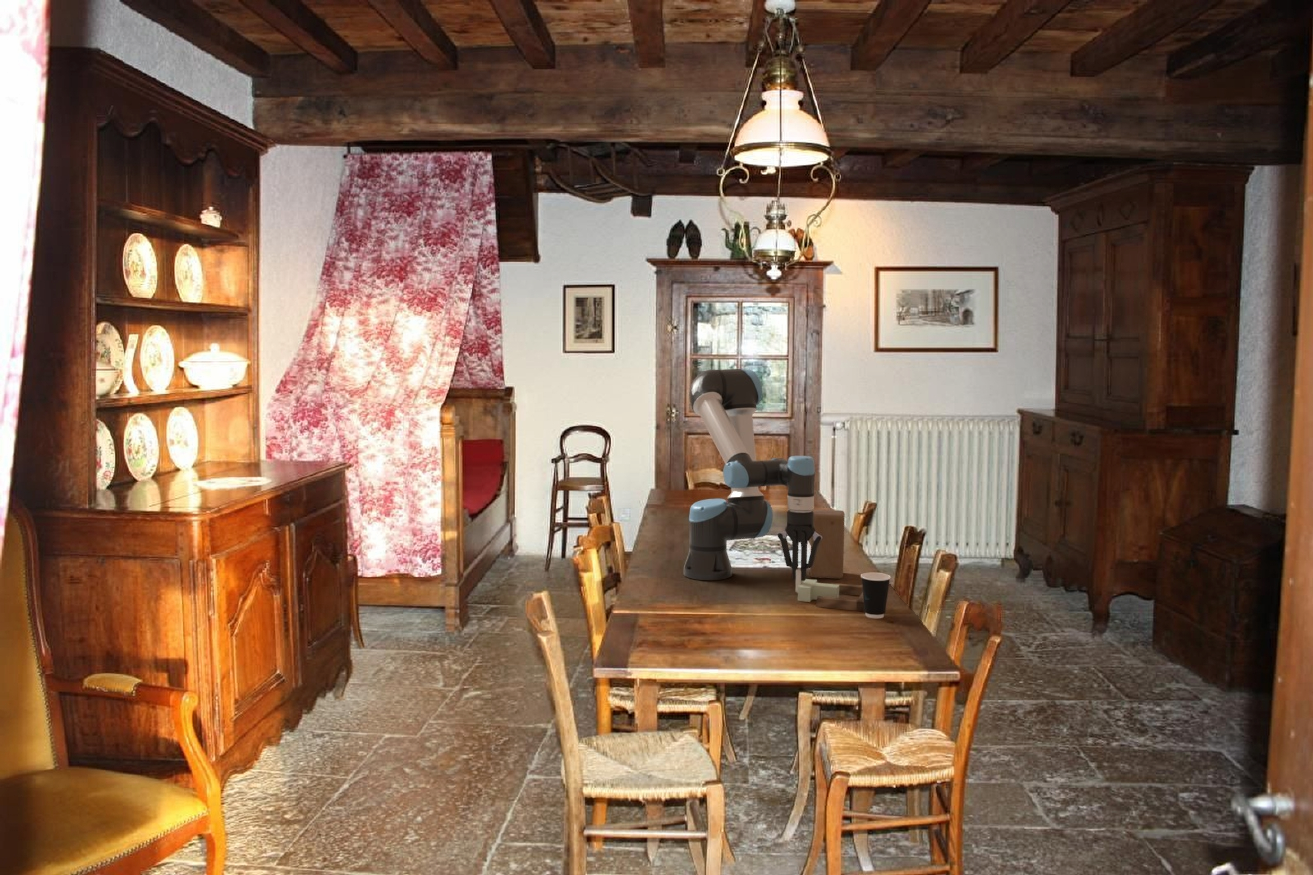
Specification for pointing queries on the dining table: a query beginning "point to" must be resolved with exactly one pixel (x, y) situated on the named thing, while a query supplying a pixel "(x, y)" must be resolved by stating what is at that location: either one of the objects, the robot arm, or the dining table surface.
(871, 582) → the dixie cup
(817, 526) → the wooden block
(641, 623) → the dining table surface
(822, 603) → the brown stepped flat base
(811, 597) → the t block
